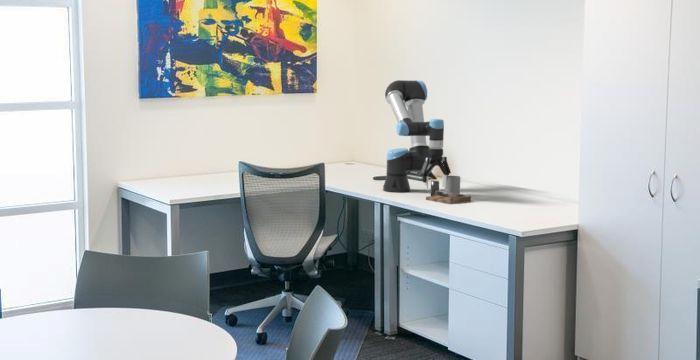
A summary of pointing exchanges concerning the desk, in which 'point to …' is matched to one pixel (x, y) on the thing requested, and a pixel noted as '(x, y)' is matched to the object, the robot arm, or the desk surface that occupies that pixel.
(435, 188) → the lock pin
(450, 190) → the cup
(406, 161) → the robot arm
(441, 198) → the dock
